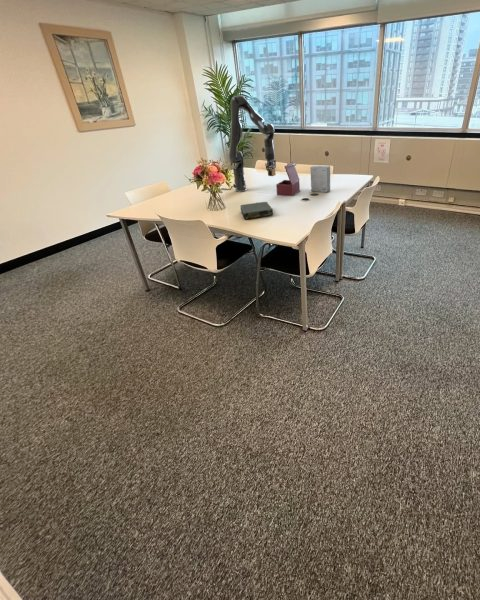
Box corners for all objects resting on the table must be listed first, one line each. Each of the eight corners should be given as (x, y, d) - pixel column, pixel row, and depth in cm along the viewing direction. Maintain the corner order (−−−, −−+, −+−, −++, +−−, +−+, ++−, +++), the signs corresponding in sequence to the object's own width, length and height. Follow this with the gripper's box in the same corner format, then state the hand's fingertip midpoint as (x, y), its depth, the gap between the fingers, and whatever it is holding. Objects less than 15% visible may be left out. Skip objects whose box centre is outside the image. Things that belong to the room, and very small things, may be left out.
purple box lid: (284, 166, 256) (289, 164, 253) (292, 162, 267) (297, 160, 264) (291, 185, 262) (296, 182, 259) (298, 180, 273) (304, 178, 270)
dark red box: (277, 194, 272) (276, 184, 267) (285, 190, 284) (284, 179, 279) (292, 196, 267) (291, 185, 262) (299, 191, 278) (299, 180, 273)
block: (268, 175, 259) (267, 170, 256) (270, 174, 262) (270, 168, 260) (273, 176, 257) (272, 170, 254) (275, 174, 260) (275, 169, 258)
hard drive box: (330, 190, 276) (330, 165, 265) (327, 192, 270) (327, 167, 259) (314, 188, 282) (313, 165, 270) (310, 191, 276) (310, 167, 265)
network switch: (245, 221, 221) (244, 214, 219) (237, 211, 239) (236, 205, 237) (276, 215, 229) (276, 208, 226) (266, 206, 247) (265, 200, 244)
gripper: (270, 150, 257) (272, 172, 266) (261, 154, 246) (263, 176, 256) (278, 151, 254) (279, 173, 263) (269, 154, 243) (271, 177, 253)
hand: (271, 174), depth 259 cm, fingers closed on block, 4 cm apart
